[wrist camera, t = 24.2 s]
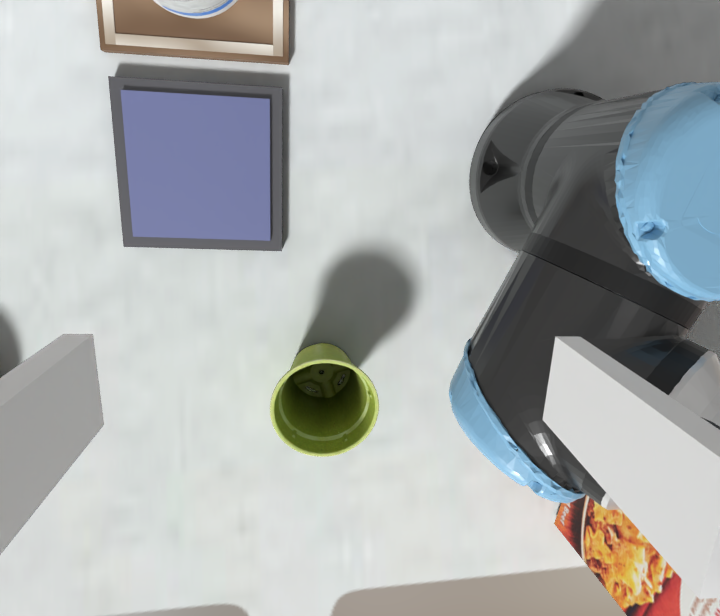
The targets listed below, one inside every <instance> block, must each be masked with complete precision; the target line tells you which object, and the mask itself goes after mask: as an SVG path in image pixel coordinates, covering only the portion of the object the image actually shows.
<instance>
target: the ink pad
mask: <svg viewBox="0 0 720 616" xmlns="http://www.w3.org/2000/svg"><path fill="white" fill-rule="evenodd" d="M108 78H109V89H110V100H111V111H112V122H113V133H114V144H115V156H116V167H117V178H118V189H119V200H120V211H121V222H122V233H123V244H124V247H154V248H190V249H226V250H261V251H282V123H283V89H282V87H267V86H251V85H236V84H220V83H204V82H189V81H173V80H157V79H142V78H126V77H110V76H108Z"/></svg>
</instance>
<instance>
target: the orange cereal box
mask: <svg viewBox="0 0 720 616" xmlns="http://www.w3.org/2000/svg"><path fill="white" fill-rule="evenodd" d="M554 524H555V525H556V526H557V528H558V529H559V530H560V531H561V533H562V534H563V535H564V536H565V538H566V539H567V540H568V541H569V543H570V544H571V545H572V547H573V548H574V549H575V550H576V552H577V553H578V554H579V555H580V557H581V558H582V559H583V560H584V562H585V563H586V564H587V565H588V567H589V568H590V569H591V570H592V572H593V573H594V574H595V575H596V577H597V578H598V579H599V581H600V582H601V583H602V584H603V586H604V587H605V588H606V589H607V591H608V592H609V593H610V594H611V596H612V597H613V598H614V599H615V601H616V602H617V603H618V604H619V606H620V607H621V608H622V610H623V611H624V612H625V613H626V615H627V616H720V598H705V599H699V598H698V597H697V596H696V595H695V594H694V593H693V591H692V590H691V589H690V588H689V587H688V586H687V585H686V583H685V582H684V581H683V580H682V579H681V578H680V577H679V575H678V574H677V573H676V572H675V571H674V570H673V568H672V567H671V566H670V565H669V564H668V563H667V562H666V560H665V559H664V558H663V557H662V556H661V555H660V554H659V552H658V551H657V550H656V549H655V548H654V547H653V546H652V544H651V543H650V542H649V541H648V540H647V539H646V538H645V536H644V535H643V534H642V533H641V532H640V531H639V530H638V528H637V527H636V526H635V525H634V524H633V523H632V522H631V520H630V519H629V518H628V517H627V516H626V515H625V514H624V512H623V511H622V510H621V509H619V510H607V509H605V508H604V507H602V506H601V505H599V504H598V503H597V502H595V501H594V500H593V499H591V498H590V497H589V496H587V495H585V496H584V497H583V498H580V499H577V500H575V501H573V502H570V503H561V506H560V509H559V512H558V514H557V517H556V520H555V523H554Z"/></svg>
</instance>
